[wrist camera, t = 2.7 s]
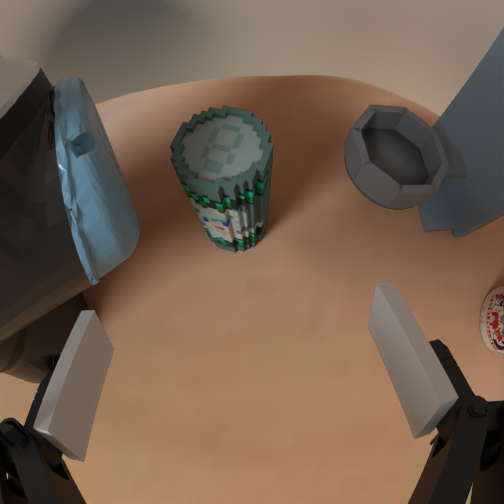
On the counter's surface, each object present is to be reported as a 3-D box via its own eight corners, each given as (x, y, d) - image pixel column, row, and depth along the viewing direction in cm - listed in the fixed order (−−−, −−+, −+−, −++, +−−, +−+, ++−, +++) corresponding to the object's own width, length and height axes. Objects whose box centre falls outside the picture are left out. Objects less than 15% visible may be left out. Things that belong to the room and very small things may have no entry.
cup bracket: (346, 249, 32) (513, 76, 7) (322, 136, 35) (379, -63, 10) (468, 235, 32) (624, 138, 7) (437, 139, 35) (536, 7, 10)
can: (199, 240, 32) (155, 174, 18) (219, 189, 34) (195, 99, 19) (254, 259, 32) (251, 201, 17) (272, 206, 33) (283, 119, 18)
